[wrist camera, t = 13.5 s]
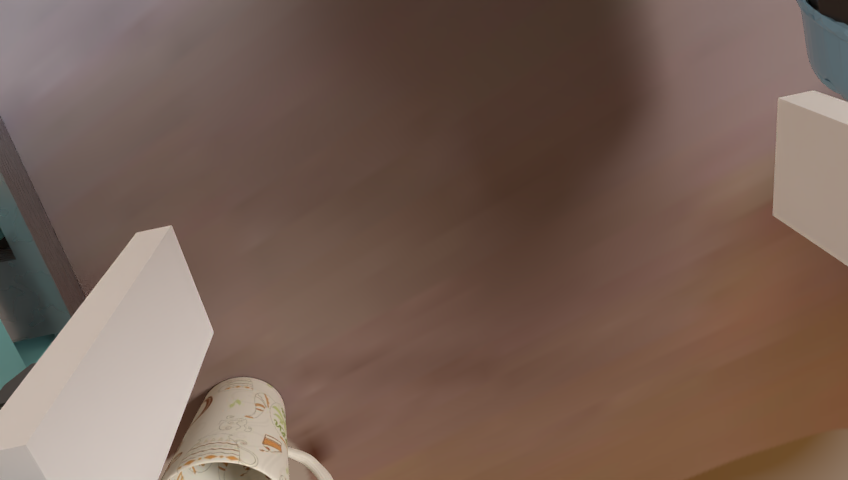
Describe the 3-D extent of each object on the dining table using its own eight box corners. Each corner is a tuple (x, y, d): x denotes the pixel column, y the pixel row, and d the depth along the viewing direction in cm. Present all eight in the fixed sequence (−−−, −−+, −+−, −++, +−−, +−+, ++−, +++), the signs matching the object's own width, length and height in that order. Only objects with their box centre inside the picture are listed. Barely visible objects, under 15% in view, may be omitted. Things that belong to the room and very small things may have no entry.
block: (-136, 141, 39) (-166, 153, 36) (-1, 114, 39) (-23, 124, 36) (26, 426, 48) (11, 450, 46) (134, 403, 48) (124, 426, 46)
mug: (217, 345, 47) (186, 441, 38) (368, 411, 51) (373, 512, 42) (168, 427, 49) (128, 536, 40) (315, 484, 53) (309, 594, 44)
